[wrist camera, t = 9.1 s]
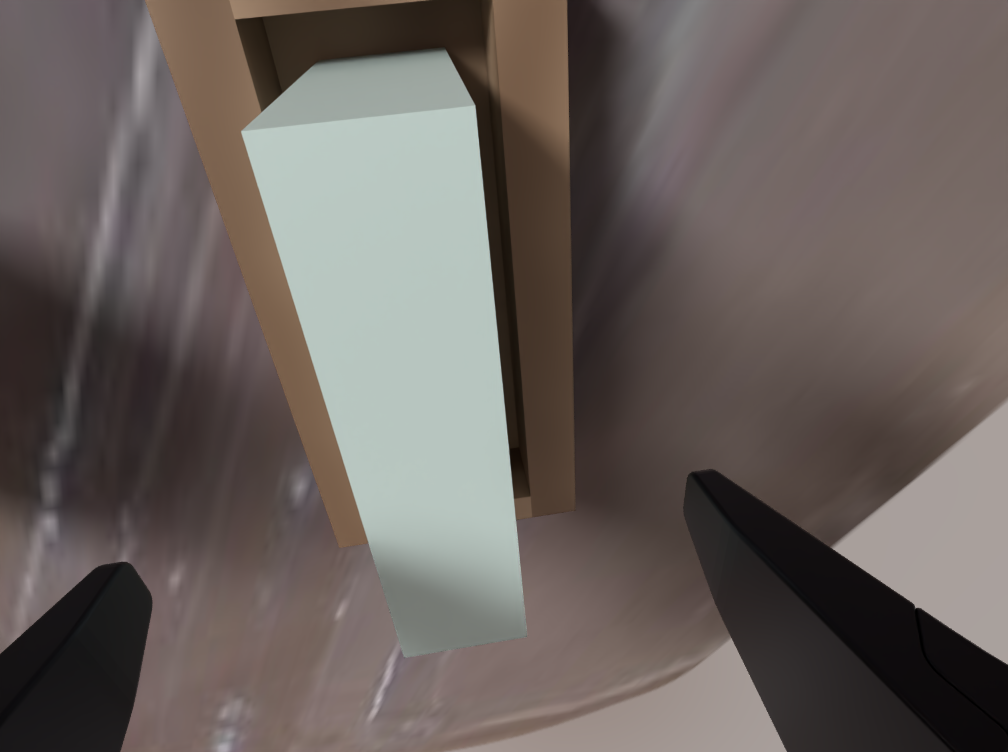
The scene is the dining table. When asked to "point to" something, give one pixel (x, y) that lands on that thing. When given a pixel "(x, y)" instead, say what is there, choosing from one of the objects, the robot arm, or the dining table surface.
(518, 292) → the wooden tray
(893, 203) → the dining table surface
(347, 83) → the pale green rectangular block
